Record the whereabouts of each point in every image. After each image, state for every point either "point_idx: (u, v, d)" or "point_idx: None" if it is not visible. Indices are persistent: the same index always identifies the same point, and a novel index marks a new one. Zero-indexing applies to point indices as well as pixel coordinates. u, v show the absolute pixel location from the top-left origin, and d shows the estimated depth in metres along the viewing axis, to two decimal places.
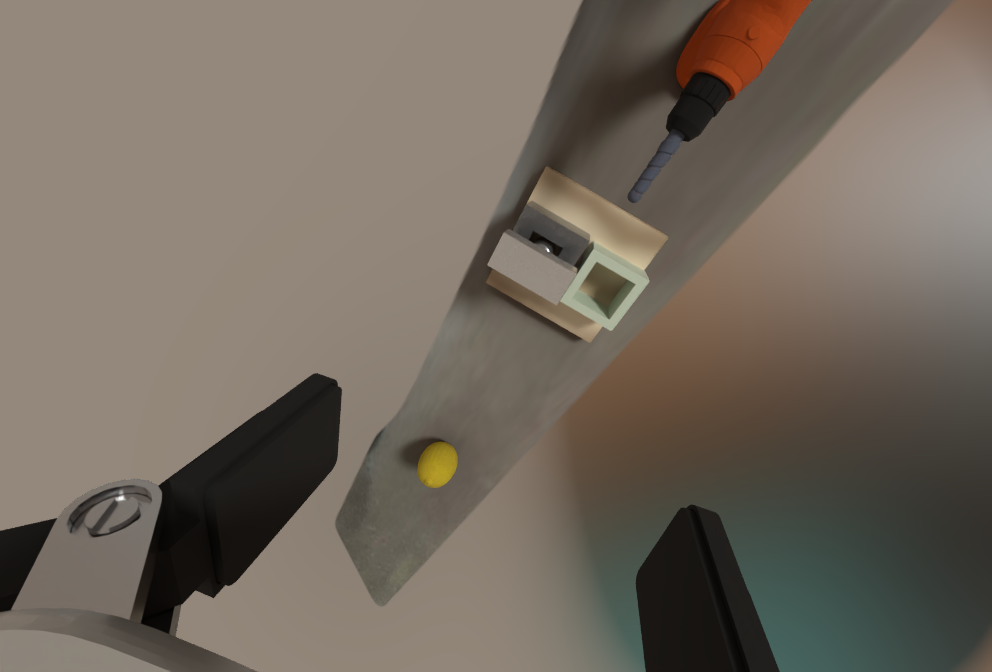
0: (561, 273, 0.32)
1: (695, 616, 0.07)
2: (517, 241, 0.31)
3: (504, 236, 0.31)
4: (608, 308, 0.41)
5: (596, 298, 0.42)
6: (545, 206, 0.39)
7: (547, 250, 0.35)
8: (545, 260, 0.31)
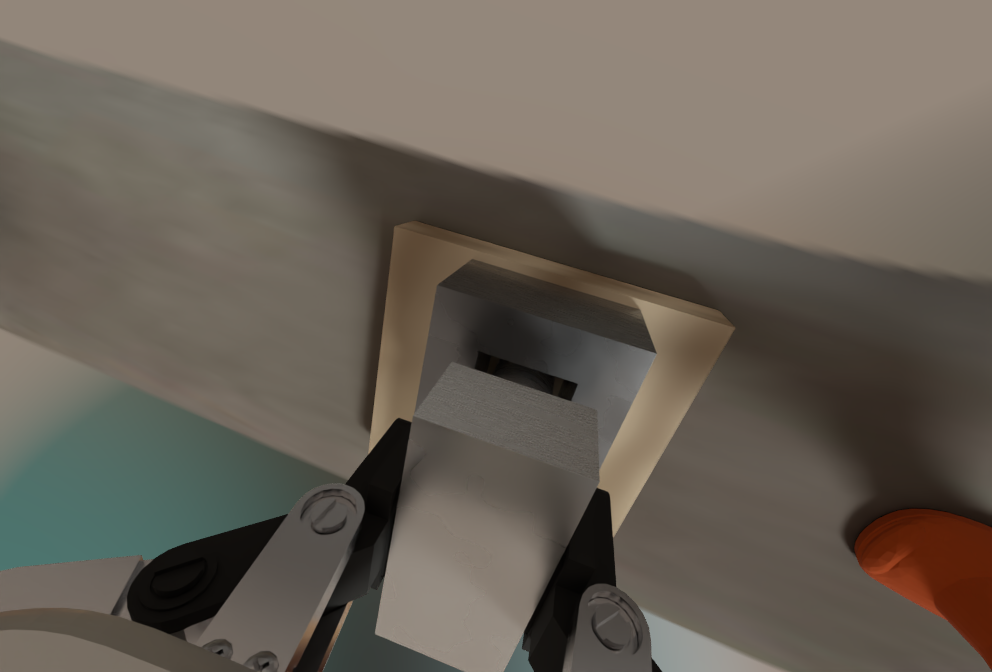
0: (485, 652, 0.09)
1: None
2: (569, 535, 0.07)
3: (578, 484, 0.06)
4: None
5: None
6: None
7: None
8: (515, 617, 0.08)
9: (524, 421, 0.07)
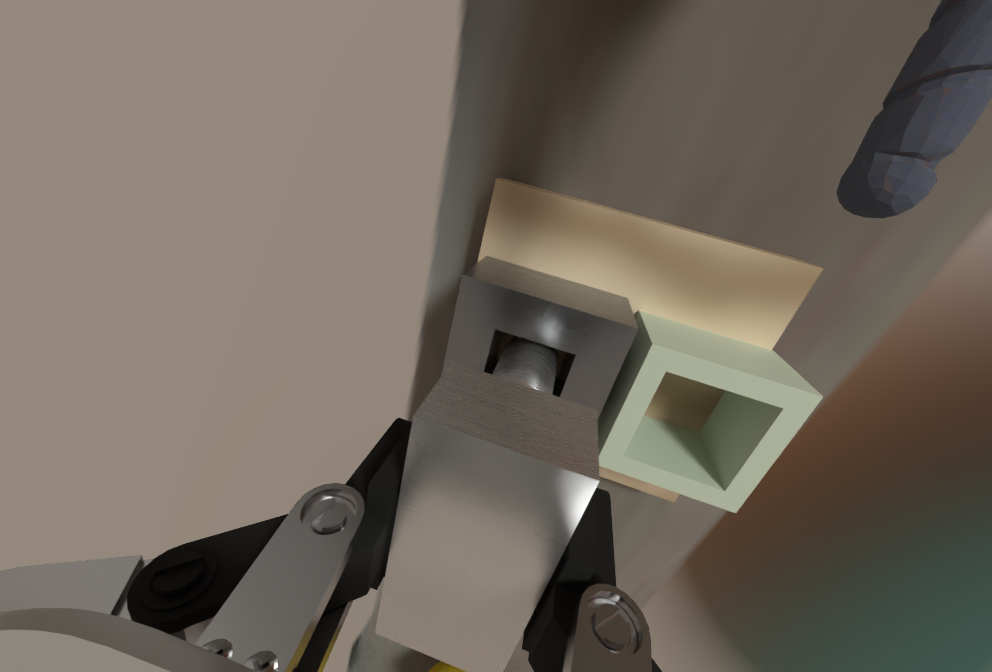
0: (485, 652, 0.09)
1: None
2: (569, 535, 0.07)
3: (577, 484, 0.06)
4: (704, 441, 0.19)
5: (670, 420, 0.19)
6: (516, 261, 0.18)
7: None
8: (515, 616, 0.08)
9: (524, 421, 0.07)
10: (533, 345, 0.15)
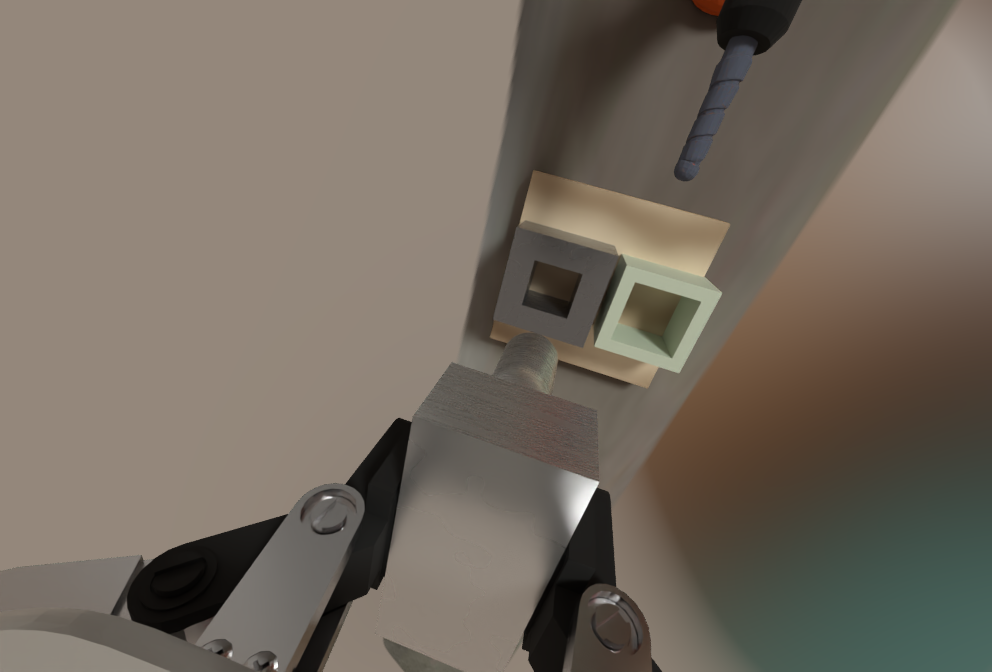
0: (484, 652, 0.09)
1: None
2: (569, 536, 0.07)
3: (577, 484, 0.06)
4: (664, 339, 0.29)
5: (643, 328, 0.30)
6: (544, 223, 0.29)
7: None
8: (514, 617, 0.08)
9: (524, 421, 0.07)
10: (533, 345, 0.15)
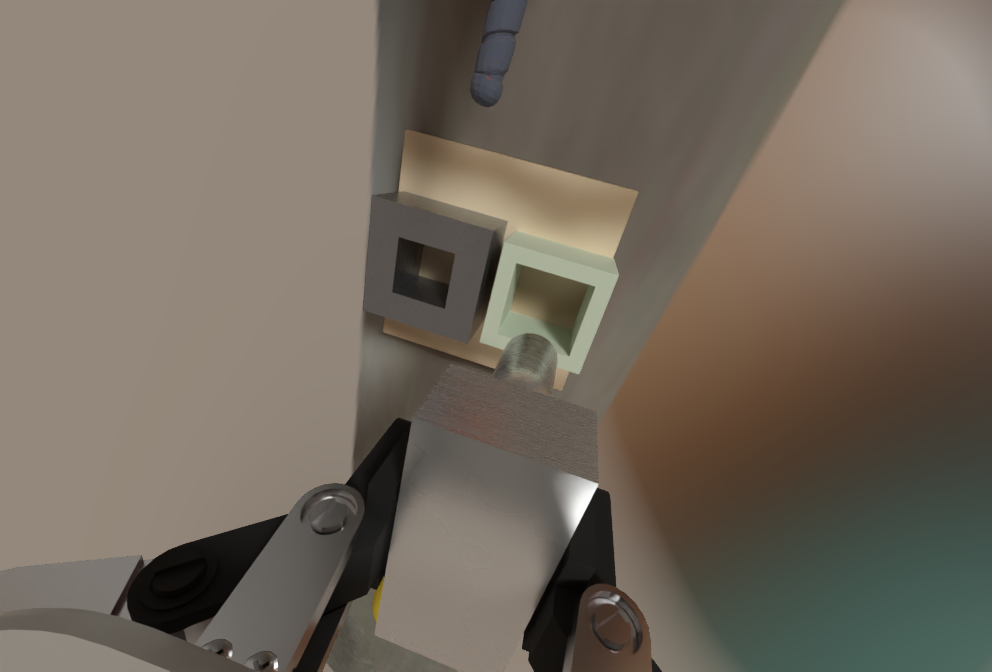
0: (484, 654, 0.09)
1: None
2: (569, 537, 0.07)
3: (576, 486, 0.06)
4: (571, 333, 0.25)
5: (550, 320, 0.25)
6: (425, 194, 0.24)
7: None
8: (514, 618, 0.08)
9: (523, 423, 0.07)
10: (532, 346, 0.15)
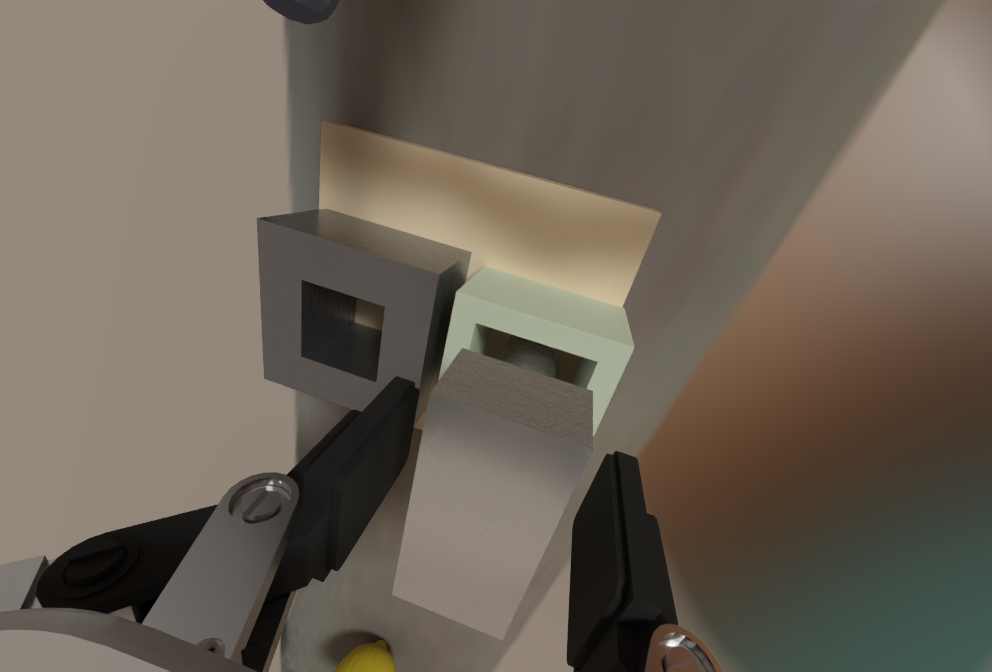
0: (491, 609, 0.10)
1: (602, 537, 0.08)
2: (567, 499, 0.07)
3: (574, 452, 0.07)
4: None
5: None
6: (356, 214, 0.17)
7: None
8: (519, 575, 0.09)
9: (527, 399, 0.08)
10: None
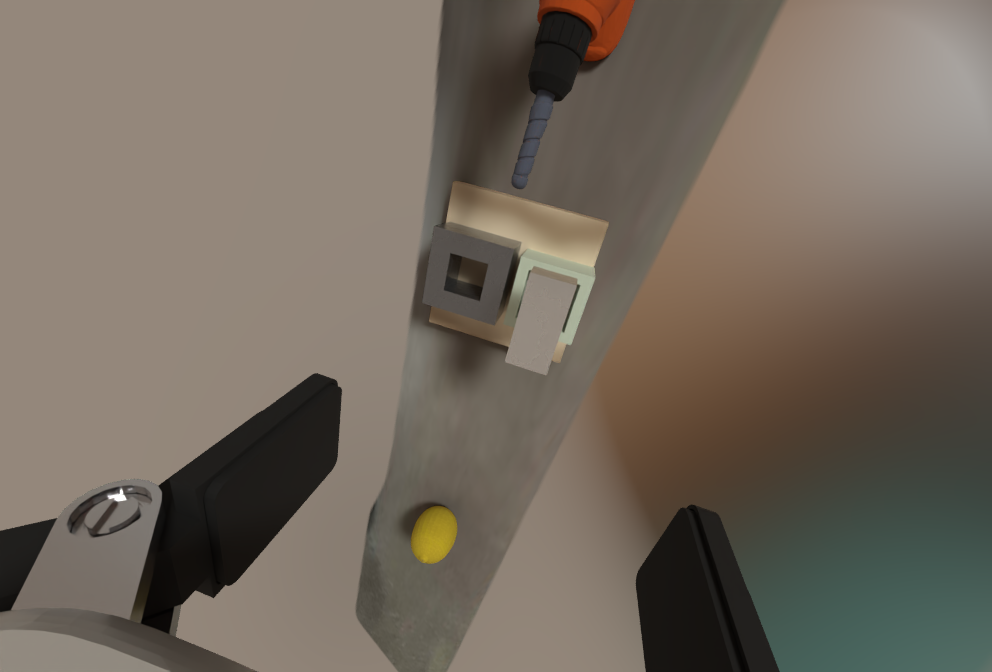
0: (543, 360, 0.27)
1: (695, 616, 0.07)
2: (569, 304, 0.25)
3: (571, 287, 0.25)
4: (566, 319, 0.35)
5: None
6: (465, 224, 0.35)
7: None
8: (553, 340, 0.26)
9: (557, 276, 0.25)
10: None
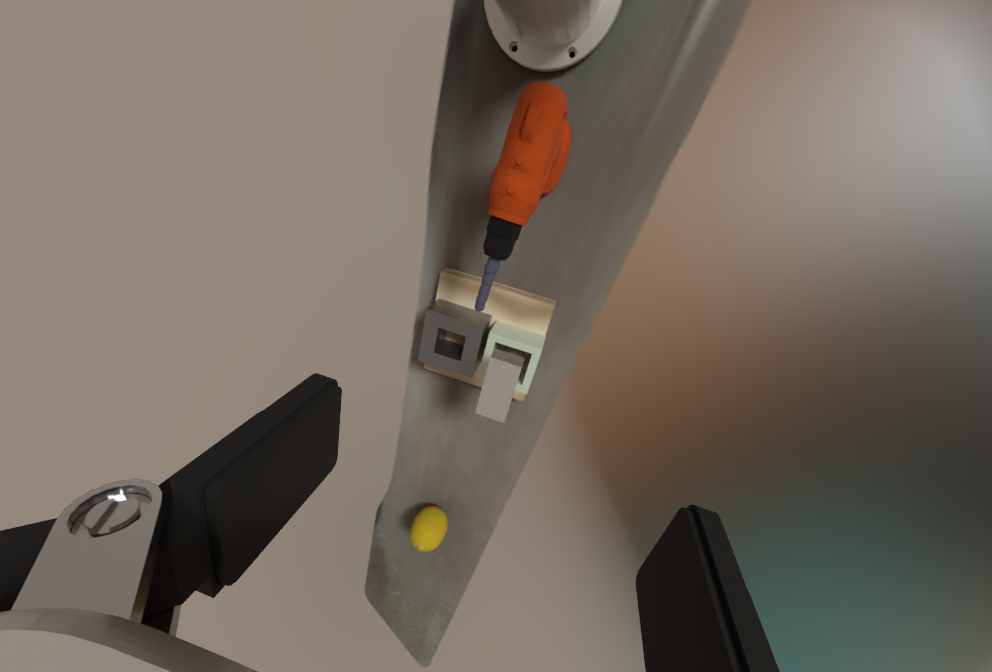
0: (501, 412, 0.39)
1: (695, 616, 0.07)
2: (517, 378, 0.37)
3: (518, 368, 0.36)
4: (526, 371, 0.47)
5: None
6: (450, 300, 0.46)
7: None
8: (508, 400, 0.38)
9: (509, 358, 0.37)
10: None
